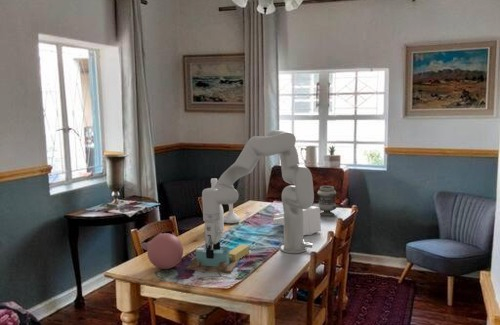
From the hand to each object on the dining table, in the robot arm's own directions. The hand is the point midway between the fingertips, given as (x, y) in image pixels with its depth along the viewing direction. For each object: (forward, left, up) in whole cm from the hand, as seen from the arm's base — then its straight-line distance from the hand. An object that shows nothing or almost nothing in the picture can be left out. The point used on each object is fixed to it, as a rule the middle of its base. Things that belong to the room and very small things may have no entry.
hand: (213, 254), depth 198 cm
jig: (0, 0, -5) cm, 5 cm away
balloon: (+22, +5, -6) cm, 24 cm away
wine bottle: (+15, -52, -6) cm, 54 cm away
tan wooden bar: (-8, -13, -6) cm, 17 cm away
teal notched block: (0, 0, -5) cm, 4 cm away
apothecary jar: (-44, -100, -6) cm, 109 cm away
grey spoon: (+12, -72, -6) cm, 73 cm away
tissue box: (-28, -63, -6) cm, 69 cm away
